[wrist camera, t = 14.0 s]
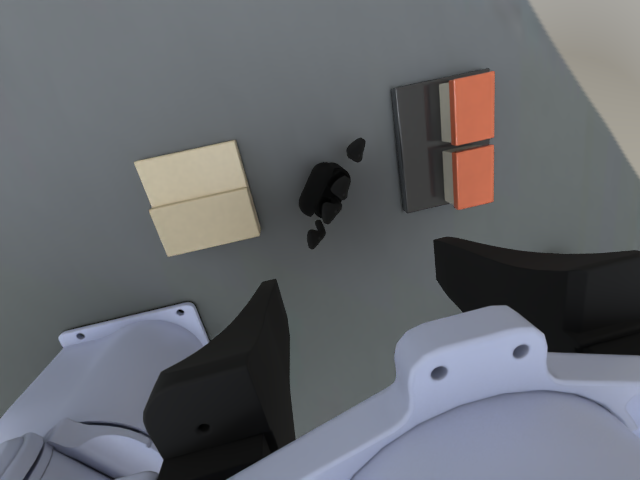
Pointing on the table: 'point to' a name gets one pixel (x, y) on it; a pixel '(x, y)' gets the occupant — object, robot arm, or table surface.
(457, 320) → the robot arm
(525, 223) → the table surface
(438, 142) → the sushi plate
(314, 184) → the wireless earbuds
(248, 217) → the napkin
